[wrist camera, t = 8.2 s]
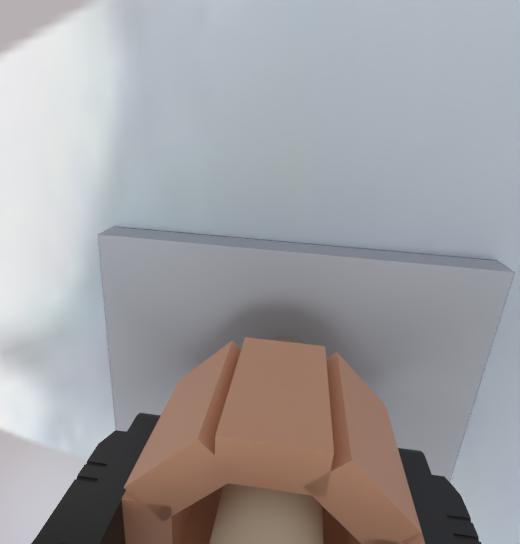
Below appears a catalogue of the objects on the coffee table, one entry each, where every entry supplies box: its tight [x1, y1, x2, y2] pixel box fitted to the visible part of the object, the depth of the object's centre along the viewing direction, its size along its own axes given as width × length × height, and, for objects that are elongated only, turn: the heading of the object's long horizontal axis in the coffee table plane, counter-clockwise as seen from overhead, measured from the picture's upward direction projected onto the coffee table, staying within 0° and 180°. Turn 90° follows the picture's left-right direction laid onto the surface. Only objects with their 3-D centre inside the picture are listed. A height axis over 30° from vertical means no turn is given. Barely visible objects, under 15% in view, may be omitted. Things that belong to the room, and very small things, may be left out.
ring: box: [122, 337, 425, 544], centre depth 9 cm, size 6×6×4 cm
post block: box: [98, 227, 515, 544], centre depth 11 cm, size 14×9×9 cm, turn 87°
